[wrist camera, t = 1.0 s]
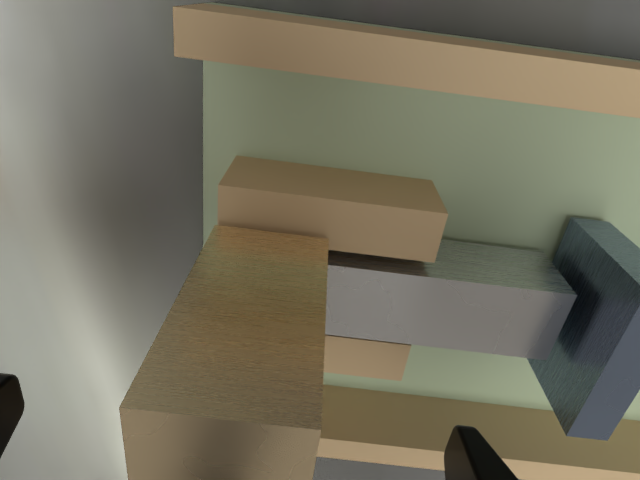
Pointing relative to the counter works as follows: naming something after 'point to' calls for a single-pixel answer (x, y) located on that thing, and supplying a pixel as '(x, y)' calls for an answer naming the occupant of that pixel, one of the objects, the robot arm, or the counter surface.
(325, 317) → the tan and grey block
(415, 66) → the pitch
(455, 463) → the robot arm
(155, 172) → the counter surface
